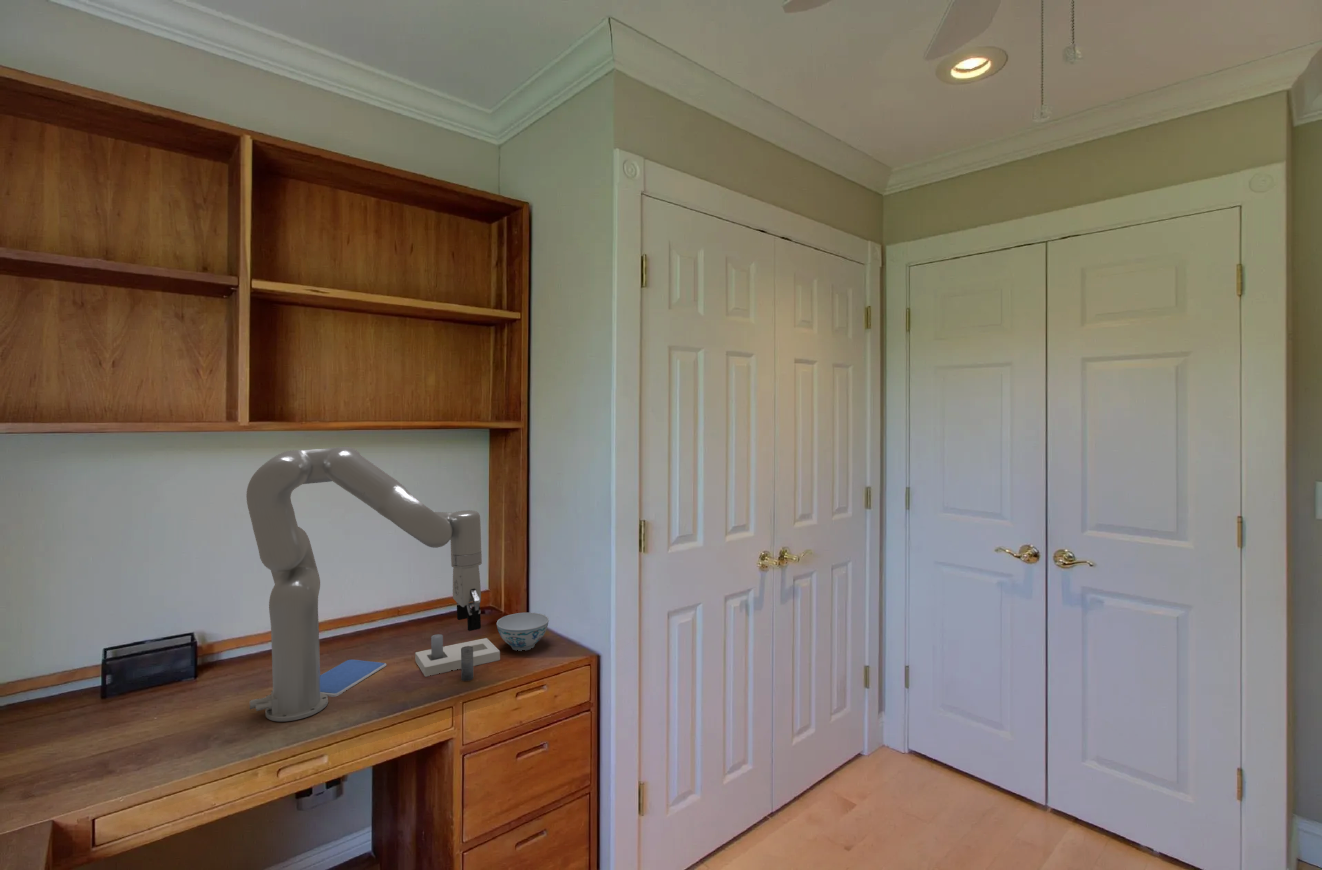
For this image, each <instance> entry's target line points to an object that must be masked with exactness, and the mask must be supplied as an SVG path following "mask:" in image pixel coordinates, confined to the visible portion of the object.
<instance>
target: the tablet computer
mask: <svg viewBox="0 0 1322 870" xmlns="http://www.w3.org/2000/svg"><path fill="white" fill-rule="evenodd" d="M386 667H387V663H385V662H379V661H372V660H371V661H369V660H360V659H347V660H345V661H343V662H342V663H340V664H338V665H336V666H334V667H333V668H331V669H329V670H327V671H326V672H323V673H322V674H320V693H323V694H325V695H326V696H327V697H331V698H335V697H338V696H340V695H342V694H344V693H345V692H347V691H348V690H350V689H351V688H353V687H354V686H356V685H358V684H359V683H361V682H362V681H364V680H365V679H367V678H369V677H370V676H372V675H374V674H375V673H377V672H378V671H380V670H382V669H384V668H386ZM346 690H347V691H346ZM343 692H344V693H343Z"/></svg>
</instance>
